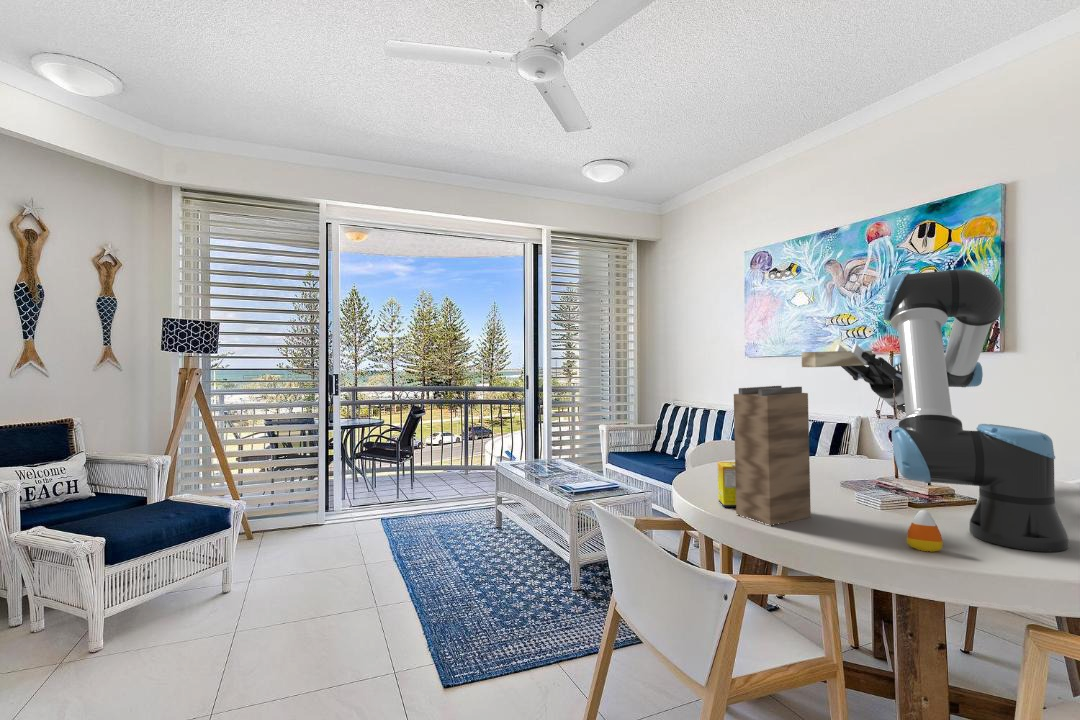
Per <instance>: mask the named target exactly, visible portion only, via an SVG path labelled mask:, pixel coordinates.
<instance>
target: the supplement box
mask: <svg viewBox="0 0 1080 720" xmlns="http://www.w3.org/2000/svg"><path fill="white" fill-rule="evenodd" d="M717 488H718V489H717V491H718V503H719V502H720V503H721V504H722V505H721V504H720V503H719V504H720V505H721V507H722V508H724V507H736V475H735V461H717Z"/></svg>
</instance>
